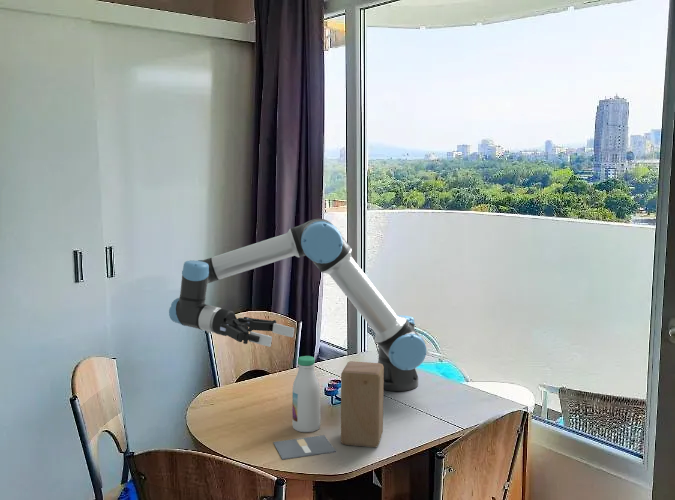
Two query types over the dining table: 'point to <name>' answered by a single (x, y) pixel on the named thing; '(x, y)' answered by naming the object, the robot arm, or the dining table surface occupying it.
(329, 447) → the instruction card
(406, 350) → the robot arm
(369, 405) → the wooden block
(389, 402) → the dining table surface
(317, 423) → the milk bottle
